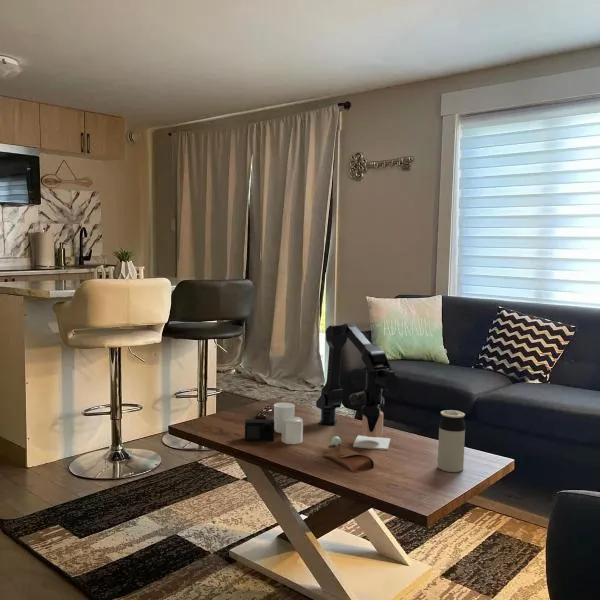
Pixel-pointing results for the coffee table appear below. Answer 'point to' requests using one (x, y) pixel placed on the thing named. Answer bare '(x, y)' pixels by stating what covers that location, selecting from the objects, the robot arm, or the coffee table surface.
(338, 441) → the pale green marble
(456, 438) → the travel mug
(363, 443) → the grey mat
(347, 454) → the sunglasses case
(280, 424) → the white cup
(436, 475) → the coffee table surface
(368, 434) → the terracotta cup
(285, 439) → the off-white cup
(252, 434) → the digital camera
